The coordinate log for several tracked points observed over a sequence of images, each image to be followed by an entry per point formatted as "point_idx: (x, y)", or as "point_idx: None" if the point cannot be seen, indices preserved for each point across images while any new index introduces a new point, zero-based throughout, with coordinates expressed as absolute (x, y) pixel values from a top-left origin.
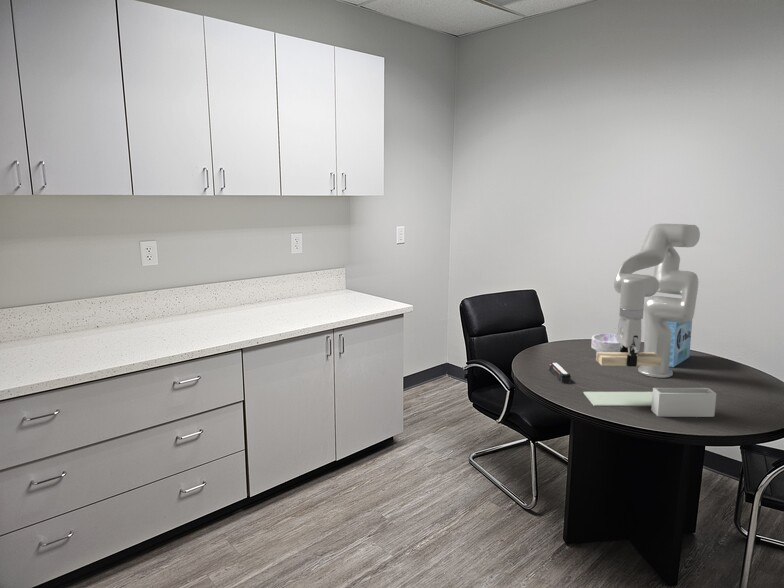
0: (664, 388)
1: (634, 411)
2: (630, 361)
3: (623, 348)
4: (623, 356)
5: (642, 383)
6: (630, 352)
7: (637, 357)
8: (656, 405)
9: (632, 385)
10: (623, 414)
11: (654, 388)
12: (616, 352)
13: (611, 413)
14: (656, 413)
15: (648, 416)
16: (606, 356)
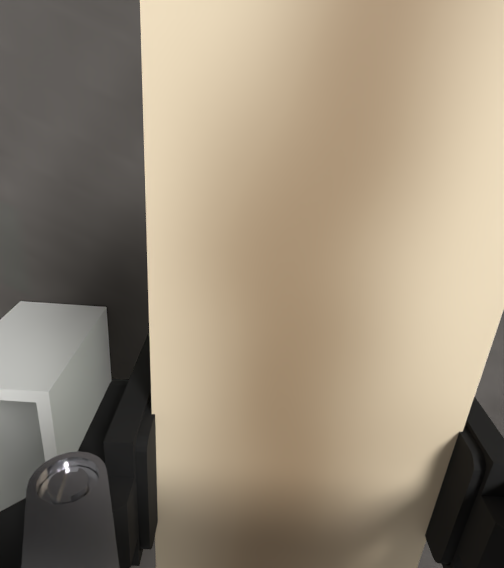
0: (46, 454)
1: (81, 206)
2: (104, 401)
3: (491, 525)
4: (204, 376)
5: (500, 429)
6: (29, 527)
7: (156, 534)
8: (20, 330)
9: (487, 369)
10: (23, 112)
11: (37, 396)
12: (471, 358)
13: (29, 28)
14: (33, 306)
15: (14, 253)
16: (213, 6)
